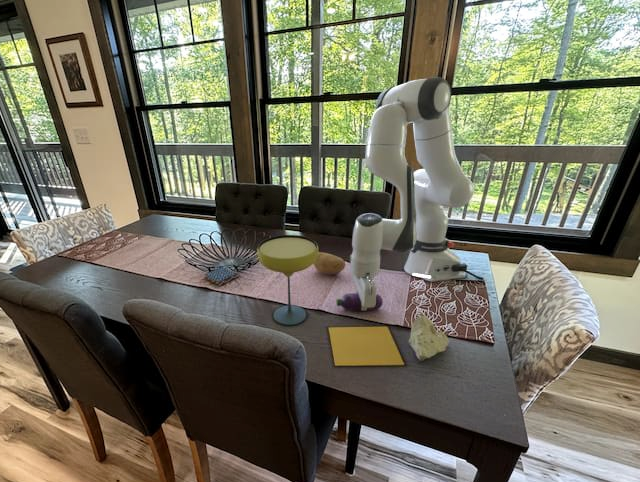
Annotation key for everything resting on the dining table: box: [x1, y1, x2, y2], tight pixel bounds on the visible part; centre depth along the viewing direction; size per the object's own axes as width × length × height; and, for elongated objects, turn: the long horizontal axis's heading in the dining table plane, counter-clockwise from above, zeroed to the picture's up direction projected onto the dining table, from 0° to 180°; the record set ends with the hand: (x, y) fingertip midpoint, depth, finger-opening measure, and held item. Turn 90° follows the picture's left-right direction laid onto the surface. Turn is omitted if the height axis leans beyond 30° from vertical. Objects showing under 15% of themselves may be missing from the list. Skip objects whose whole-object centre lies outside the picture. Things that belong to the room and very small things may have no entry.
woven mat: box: [204, 266, 240, 286], centre depth 128 cm, size 10×11×2 cm
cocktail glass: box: [256, 234, 319, 326], centre depth 97 cm, size 18×18×25 cm
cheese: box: [408, 314, 450, 362], centre depth 84 cm, size 15×7×15 cm
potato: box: [313, 251, 347, 275], centre depth 126 cm, size 10×14×8 cm
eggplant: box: [335, 292, 384, 311], centre depth 103 cm, size 15×6×6 cm, turn 88°
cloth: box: [328, 326, 405, 367], centre depth 89 cm, size 18×16×1 cm
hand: (361, 303), depth 104 cm, fingers closed on eggplant, 5 cm apart
